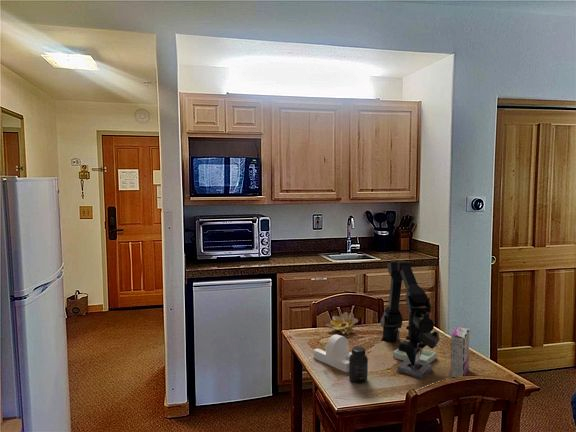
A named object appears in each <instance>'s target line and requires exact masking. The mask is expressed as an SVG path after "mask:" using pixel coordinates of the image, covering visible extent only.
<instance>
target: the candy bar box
mask: <svg viewBox="0 0 576 432" xmlns="http://www.w3.org/2000/svg"><path fill="white" fill-rule="evenodd" d="M450 337H451V340H450V341H451V343H450V350H451V351H450V358H451V359H450V378H452V379H454V378H453V377H460V376H465V377H466V375H467V373H468V371H469V367H470V366H469V365H470V364H469V363H470V362H469V359H470V356H469V355H470V328H466V327H459V326H456V327H455V329H454V331H453V333H452V334H451V336H450Z"/></svg>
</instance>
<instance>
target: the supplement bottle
mask: <svg viewBox="0 0 576 432" xmlns="http://www.w3.org/2000/svg"><path fill="white" fill-rule="evenodd" d="M351 348H352V349H351V353H352V354H351V355H350V357H349V372H348V379H349V381H350V382H351V383H354V384H356V385H357V384H359V385H360V384H361V385H363V384H365V383H366V382H367V381H368V377H369V376H368V375H369V374H368V372H369V368H368V366H369V365H368V364H369V363H368V362H369V360H368V358H369V357H367V355H366V348H365V347H363V346H358V345H356V346H353V347H351Z"/></svg>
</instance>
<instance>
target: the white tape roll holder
mask: <svg viewBox="0 0 576 432" xmlns="http://www.w3.org/2000/svg"><path fill="white" fill-rule="evenodd" d="M349 346H350V343H349V341H348V339H347V338H346V337H345V336H343V335H340V334H333V335H331V336H330V337H329V339H328V340H327V342H326V345H325V350H323V349H321V348H318V347H317V348H315V349H313V359H315V360H317V361H320V362H322V363H324V364H326V365H328V366H331V367H332V368H334V369H337V370H340V371H342V372H344V373H349V357H350V355H351V354H352V351H351V352H350V351H349V350H350V349H349V348H350V347H349Z"/></svg>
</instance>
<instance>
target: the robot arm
mask: <svg viewBox="0 0 576 432" xmlns="http://www.w3.org/2000/svg"><path fill="white" fill-rule="evenodd" d="M387 270H388V275H389V276H390V277H391V279H390V288H389V297H388V306H387V307H385V309H384V310H383V314H382V317H381V318H380V322H379V323H380V326H381V327H382V337H381V339H380V340H381V341H385V342H389V343H392V344H394V343H396V342H397V341H399V340H400V339H401V338H400V330H399V329H402V326H403V325H402V324H403V320H404V318H403V315H402V313H401V311H400V310H399V309H400V302H401V301H400V300H401V293H402V292H401V291H402V283H403V284H404V287H405V289H406V294H405V303H406V306H407V309H408V324H407V326H406V330H407V333H408V334H407V336H405V340H403V341H402V342H400V343H399V344H398V346H397V349H398V350H399V351H403V352H406V354H407V356H408V358H409V360H410V362H411V365H415V360H416V354H417V352H419V351H420V350H419V349H418V345H419V346H421V347H422V350H423V349H425V347H427V346H428V348H430V349H432V350H433V349H434V348H435V347H437V346H438V343H439V342H440V339H441V338H440V335H439V332H438V331H436V330H435V331H433V330H434V329H435V328H434V327H435V324H434V321H433V319H431V318H430V314H428V313H431V312H432V311H431V308H432V305H431V303H430V299H429V296H428V295H427V293H426V291H425V290H424V288H423V287H421V286H419V284H418V282H417V279H416V276H415V273H414V272H413V269H412V263H411V262H410V261H406V260H390V261H389V262H388V263H387ZM432 331H433V332H432ZM421 353H422V351H421V352H420V356H421Z"/></svg>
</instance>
